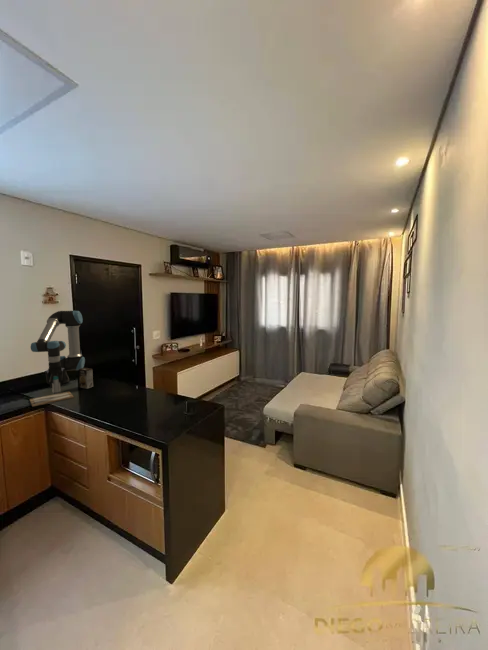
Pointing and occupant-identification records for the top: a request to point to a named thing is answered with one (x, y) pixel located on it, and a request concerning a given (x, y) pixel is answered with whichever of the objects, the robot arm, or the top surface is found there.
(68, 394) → the writing board
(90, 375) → the coffee box
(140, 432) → the top surface
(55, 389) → the marker
